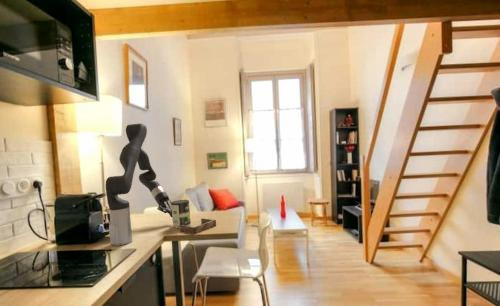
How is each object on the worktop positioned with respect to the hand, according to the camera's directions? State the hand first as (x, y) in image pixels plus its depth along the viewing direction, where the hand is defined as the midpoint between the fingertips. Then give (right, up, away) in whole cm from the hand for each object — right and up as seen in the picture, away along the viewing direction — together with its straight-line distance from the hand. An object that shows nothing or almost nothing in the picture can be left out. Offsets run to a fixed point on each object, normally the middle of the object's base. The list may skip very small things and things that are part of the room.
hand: (173, 216), depth 168 cm
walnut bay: (+17, -3, -13) cm, 22 cm away
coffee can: (+6, -4, -4) cm, 8 cm away
